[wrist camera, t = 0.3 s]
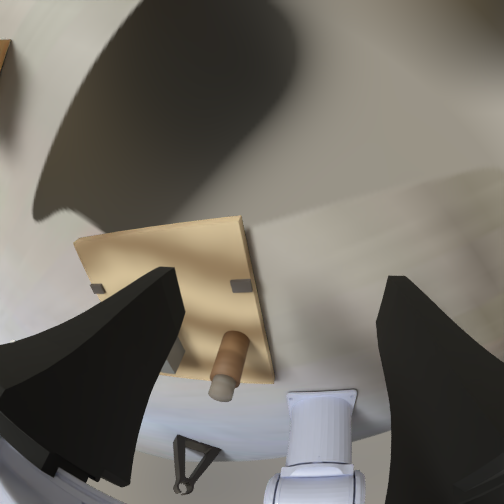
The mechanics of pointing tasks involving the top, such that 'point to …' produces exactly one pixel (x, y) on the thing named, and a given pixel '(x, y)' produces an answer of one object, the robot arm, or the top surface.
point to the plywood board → (191, 286)
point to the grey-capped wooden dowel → (228, 365)
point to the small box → (3, 49)
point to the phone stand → (179, 461)
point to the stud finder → (174, 358)
